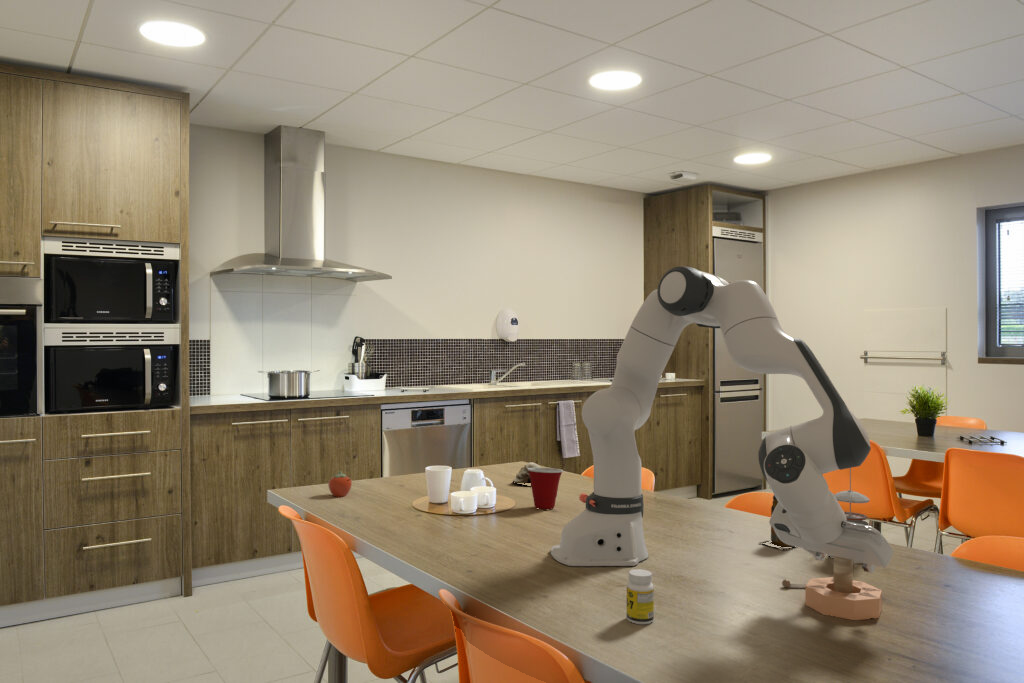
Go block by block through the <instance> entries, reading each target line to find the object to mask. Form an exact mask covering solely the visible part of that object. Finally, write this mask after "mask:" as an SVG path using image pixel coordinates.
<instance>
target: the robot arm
mask: <svg viewBox="0 0 1024 683" xmlns="http://www.w3.org/2000/svg"><path fill="white" fill-rule="evenodd" d="M691 324H696V326H698V327H700V328H701V327H702V328H710V329H720V331H721V334H722V337H723V341H724V344H725V347H726V349H727V352H728V355H729V356H730V358H731V360H732V361H733V362H734V364H735V365H736V366H738V367H739V368H741V369H743V370H745V371H748V372H751V373H754V374H762V375H777V374H778V375H792V376H796V377H799V378H801V379H803V380H804V382H805V384H807V386H808V387H809V389H810V392H811V393H812V394H813V396H814V398H815V400H816V402H818V404H819V406H820V407H821V409H822V412H823V413H822V414H821V415H820V417H818V418H815V419H812V420H808V421H805V422H802V423H799V424H796V425H795V424H794V425H793V426H792V425H790V426H788V427H784V428H781V429H779V430H775V431H772V432H770V433H768V434H766V435H765V436H764V438H763V439H762V441H761V443H760V447H759V448H758V454H757V455H758V456H757V457H758V463H759V467H760V470H761V473H762V475H763V477H764V479H765V480H766V482H767V484H768V485H769V488H770V489H771V491H772V493H773V496H774V495H775V497H776V499H777V501H778V503H777V505H776V507H775V509H774V511H773V513H772V515H771V514H770V519H769V522H768V523H769V525H770V527H771V526H772V527H773V529H774V531H775V533H776V535H777V536H778V538H779V539H780V540H781V541H782V542H784V543H785V544H787V545H791V546H796V548H800V549H803V550H804V551H806V552H807V553H809V554H810V555H812V557H813V559H814V560H816V561H817V560H818V561H822V562H823V561H825V558H826V555H827V554H829V555H833V556H837V557H842V558H846V559H850V560H854V561H858V562H863V563H861V564H862V565H861V569H862V570H863V572H866V573H870V574H874V572H875V570H876V567H879V568H880V567H881V568H885V567H887V566H888V565H889V564H890V562H891V559H892V557H893V552H894V550H893V548H892V546H891V544H890V543H889V541H887V539H886V537H885V536H884V535H883V534H882V532H880V531H879V530H878V529H877V528H874V527H873V526H870V525H869V526H867V525H862V524H857V523H852V522H847V519H846V515H845V513H844V512H845V511H844V509H843V508H842V506H841V504H840V503H839V501H837V499H836V497H835V496H834V494H835V493H833V492H832V491H831V490H830V488H829V485H828V482H827V479H826V478H825V477H824V475H825V474H827V473H830V472H834V471H838V470H841V471H842V470H845V469H850V468H851V469H852V468H856V467H860V466H861V465H863V463H864V462H865V461H866V460H867V457H868V455H869V454H870V452H871V449H872V447H871V441H870V438H869V434H868V432H867V430H866V428H865V427H864V426H863V424H862V422H860V420H859V419H858V418H857V417H856V415H854V413H853V412H852V411H851V410H850V409H849V408H848V406H847V404H846V402H845V401H844V400H843V398H842V396H841V395H840V393H839V391H838V389H837V388H836V387H835V384H833V382H832V380H831V379H830V377H829V375H828V374H827V372H826V370H825V369H824V368H823V365H822V364H821V362H820V361H819V360H818V358H817V357H816V356H815V354H814V353H813V350H812V349H811V348H810V346H809V345H808V344H806V342H805V341H804V340H803V339H801V338H799V337H798V338H796V337H792V336H790V335H788V334H787V333H786V331H784V329H783V328H782V326H781V324H780V321H779V319H778V317H777V314H776V311H775V309H774V308H773V306H772V303H771V302H770V299H769V298H768V296H767V294H766V293H765V292H764V289H763V288H762V287H761V286H760V285H759V284H758V283H757V282H756V281H753V280H750V279H740V280H739V279H738V280H735V281H732V282H729V281H727V280H725V279H724V278H722V277H720V276H718V275H716V274H713V273H710V272H706V271H702V270H699V269H697V268H694V267H691V266H683V265H682V266H674V267H671V268H670V269H668V271H666V272H665V273H664V274H663V276H662V277H661V279H660V280H659V283H658V286H657V289H654V290H652V291H651V292H650V293H649V294H648V296H646V299H645V300H644V301H643V303H642V304H641V306H640V307H639V309H638V311H637V313H636V314H635V317H634V318H633V320H632V322H631V324H630V326H629V329H628V331H627V333H626V335H625V338H624V339H623V342H622V344H621V346H620V348H619V350H618V353H617V355H616V366H615V370H614V375H613V379H612V382H611V384H610V385H609V386H608V387H606V388H601V389H598V390H597V391H595V392H594V393H592V394H591V395H590V396H588V398H587V399H586V400H585V401H584V403H583V405H582V409H581V417H582V422H583V424H584V426H585V428H586V429H587V431H588V436H589V442H590V446H591V452H592V460H593V492H592V493H590V494H589V495H588V494H586V492H585V493H584V492H582V493H580V495H579V497H578V500H580V502H582V503H583V504H585V509H583V511H581V512H580V513H579V514H578V515H576V516H575V517H574V518H573V519H571V520H570V521H569V522H567V524H565V525H564V526H563V528H562V530H561V534H560V535H561V536H560V539H559V540H560V541H559V544H556V545H552V547H551V548H550V556H551V557H552V559H554V560H556V561H557V562H558V563H561V564H563V565H565V566H569V567H631V566H632V567H634V566H636V565H638V564H639V562H641V561H644V560H646V559H647V558H649V552H648V550H647V549H648V548H647V546H646V545H647V544H646V541H645V540H646V539H645V533H644V527H643V526H644V525H643V518H644V509H645V508H644V506H645V505H644V503H645V502H644V494H643V493H642V472H643V471H642V469H643V468H642V459H641V456H640V455H639V451H638V447H637V441H636V437H635V436H636V435H635V434H636V433H635V431H636V430H639V429H640V428H642V426H644V424H646V422H647V421H648V419H649V418H650V416H651V414H652V413H651V412H652V406H653V404H654V401H655V397H656V394H657V391H658V388H659V385H660V384H659V383H660V381H661V377H662V375H663V373H664V371H665V368H666V367H667V365H668V363H669V360H670V358H671V356H672V354H673V352H674V350H675V347H676V345H677V342H679V338H680V336H681V334H682V332H683V330H684V329H685V328H686V327H688V326H689V325H691ZM823 474H824V475H823Z"/></svg>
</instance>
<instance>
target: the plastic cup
mask: <svg viewBox="0 0 1024 683" xmlns="http://www.w3.org/2000/svg"><path fill="white" fill-rule="evenodd" d="M527 469H528V471H529V475H530V479H531V486H530V487H531V491H532V498H533V504H534V505H533V506H534V508H535V507H536V508H539V509H551V508H554V509H555V506H556V500H557V496H558V492H559V491H558V489H559V485H560V484H559V483H560V480H561V477H562V473H563V472H564V470H563V469H561V468H554V467H542V466H540V467H533V468H527ZM536 508H535V509H536ZM539 509H538V510H539ZM551 510H552V509H551Z"/></svg>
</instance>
